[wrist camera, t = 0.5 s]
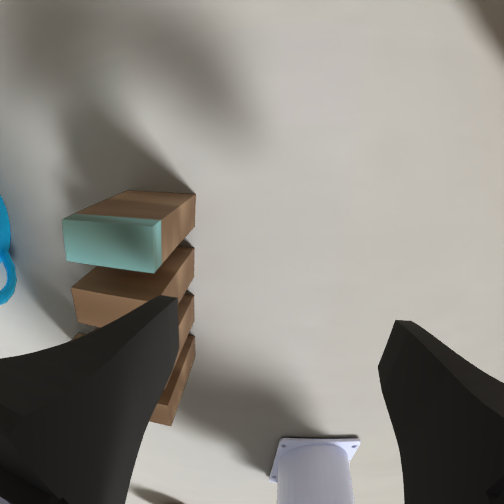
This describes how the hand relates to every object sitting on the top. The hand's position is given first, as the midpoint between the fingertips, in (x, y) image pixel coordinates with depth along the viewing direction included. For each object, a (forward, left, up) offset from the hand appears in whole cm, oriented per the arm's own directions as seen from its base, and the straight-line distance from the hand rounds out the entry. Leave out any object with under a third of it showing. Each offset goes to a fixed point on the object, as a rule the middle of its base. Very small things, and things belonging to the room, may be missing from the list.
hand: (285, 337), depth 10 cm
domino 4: (-2, +8, -10) cm, 13 cm away
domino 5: (+1, +8, -10) cm, 13 cm away
